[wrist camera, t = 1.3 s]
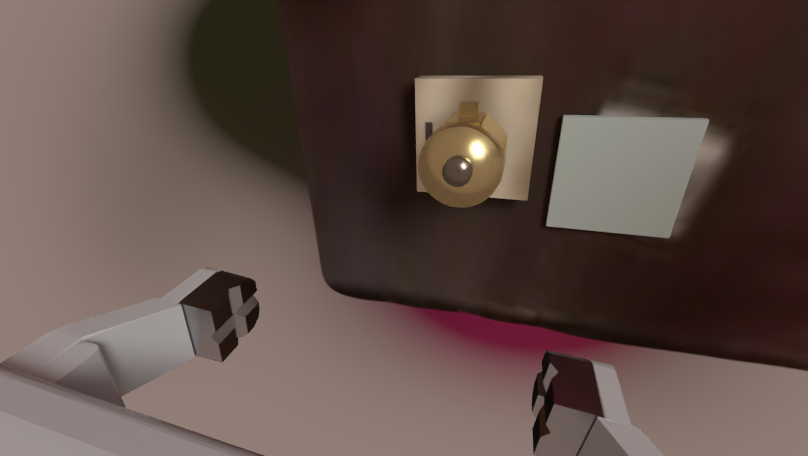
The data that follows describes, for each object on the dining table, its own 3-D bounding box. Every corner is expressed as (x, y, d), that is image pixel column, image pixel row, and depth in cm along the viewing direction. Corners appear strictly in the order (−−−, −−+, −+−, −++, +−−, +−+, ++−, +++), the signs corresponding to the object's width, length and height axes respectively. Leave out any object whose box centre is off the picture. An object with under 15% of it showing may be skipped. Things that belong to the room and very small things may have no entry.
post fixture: (542, 75, 30) (544, 90, 24) (527, 192, 35) (526, 232, 28) (420, 75, 33) (391, 89, 26) (422, 183, 38) (397, 219, 31)
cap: (511, 100, 28) (506, 118, 23) (502, 193, 32) (496, 226, 26) (434, 99, 30) (414, 115, 25) (434, 188, 33) (416, 217, 28)
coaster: (706, 118, 28) (709, 120, 28) (667, 234, 33) (669, 238, 33) (563, 114, 31) (563, 116, 31) (546, 223, 36) (546, 226, 35)
